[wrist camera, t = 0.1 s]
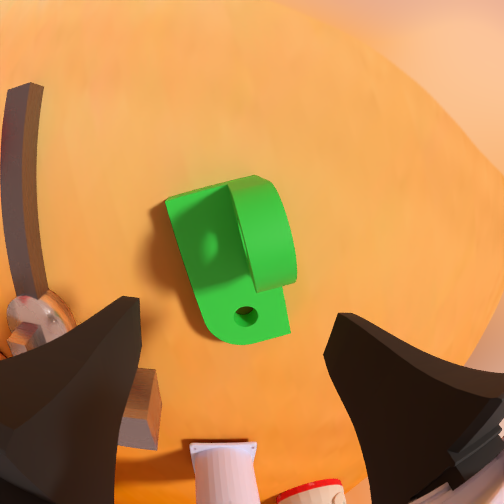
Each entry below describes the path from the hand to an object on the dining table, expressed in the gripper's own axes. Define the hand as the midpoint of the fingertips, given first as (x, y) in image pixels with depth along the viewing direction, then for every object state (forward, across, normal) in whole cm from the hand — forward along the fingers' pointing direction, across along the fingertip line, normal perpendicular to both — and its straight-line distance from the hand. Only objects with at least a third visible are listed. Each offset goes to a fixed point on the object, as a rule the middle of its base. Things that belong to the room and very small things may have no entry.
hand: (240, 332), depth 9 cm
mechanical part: (+11, -1, +2) cm, 11 cm away
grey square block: (+11, +7, +16) cm, 20 cm away
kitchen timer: (+11, -22, +52) cm, 57 cm away
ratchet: (+11, +16, +9) cm, 21 cm away
